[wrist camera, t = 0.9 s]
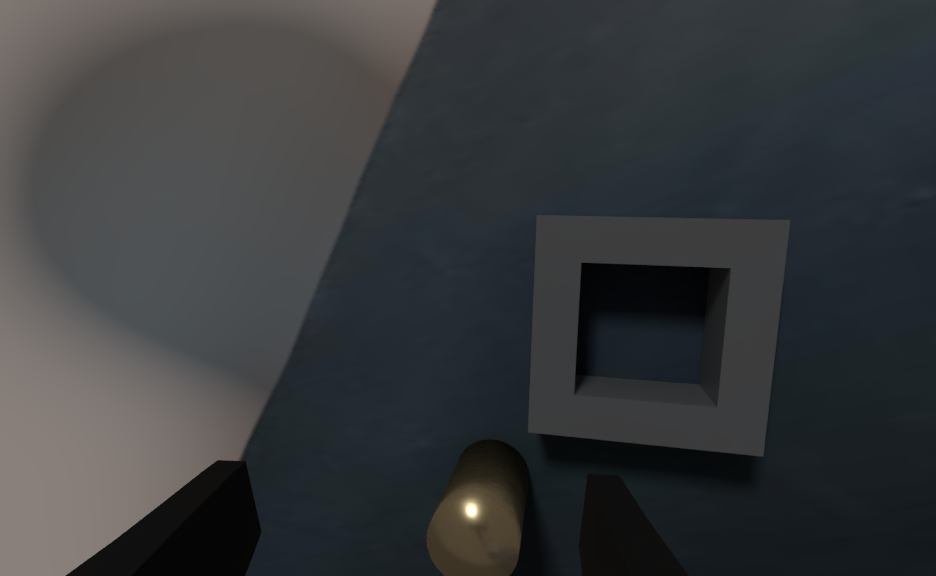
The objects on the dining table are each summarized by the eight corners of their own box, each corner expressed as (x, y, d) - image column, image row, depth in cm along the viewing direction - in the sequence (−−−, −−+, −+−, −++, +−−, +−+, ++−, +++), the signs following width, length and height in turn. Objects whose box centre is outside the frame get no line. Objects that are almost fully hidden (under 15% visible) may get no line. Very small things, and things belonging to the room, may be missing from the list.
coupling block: (739, 427, 24) (763, 456, 21) (532, 408, 26) (527, 432, 23) (761, 219, 22) (790, 220, 20) (540, 215, 24) (536, 214, 21)
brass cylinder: (527, 513, 27) (517, 595, 21) (455, 503, 27) (426, 580, 22) (530, 443, 26) (520, 508, 20) (457, 435, 27) (427, 495, 21)
